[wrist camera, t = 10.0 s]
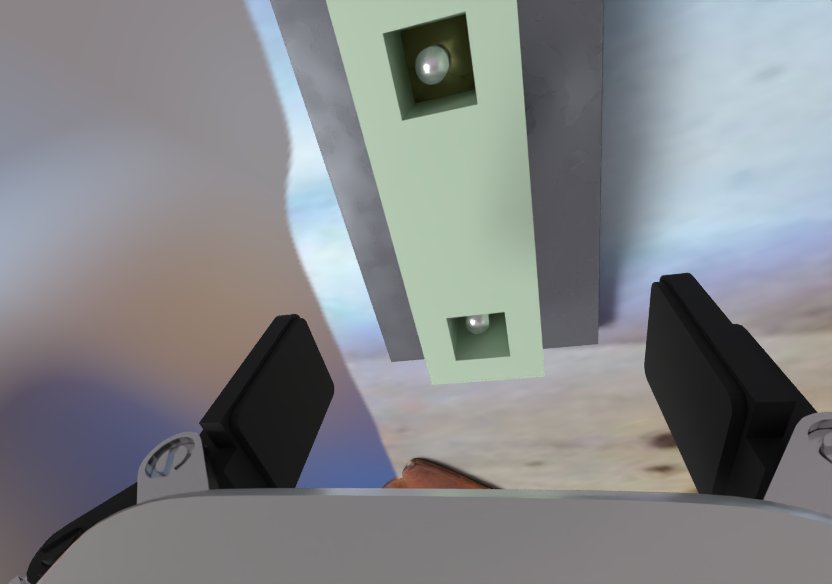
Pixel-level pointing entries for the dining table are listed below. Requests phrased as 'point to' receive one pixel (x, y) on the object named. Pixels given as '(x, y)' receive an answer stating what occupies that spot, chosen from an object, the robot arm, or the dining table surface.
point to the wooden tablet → (431, 478)
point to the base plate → (546, 138)
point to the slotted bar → (452, 183)
